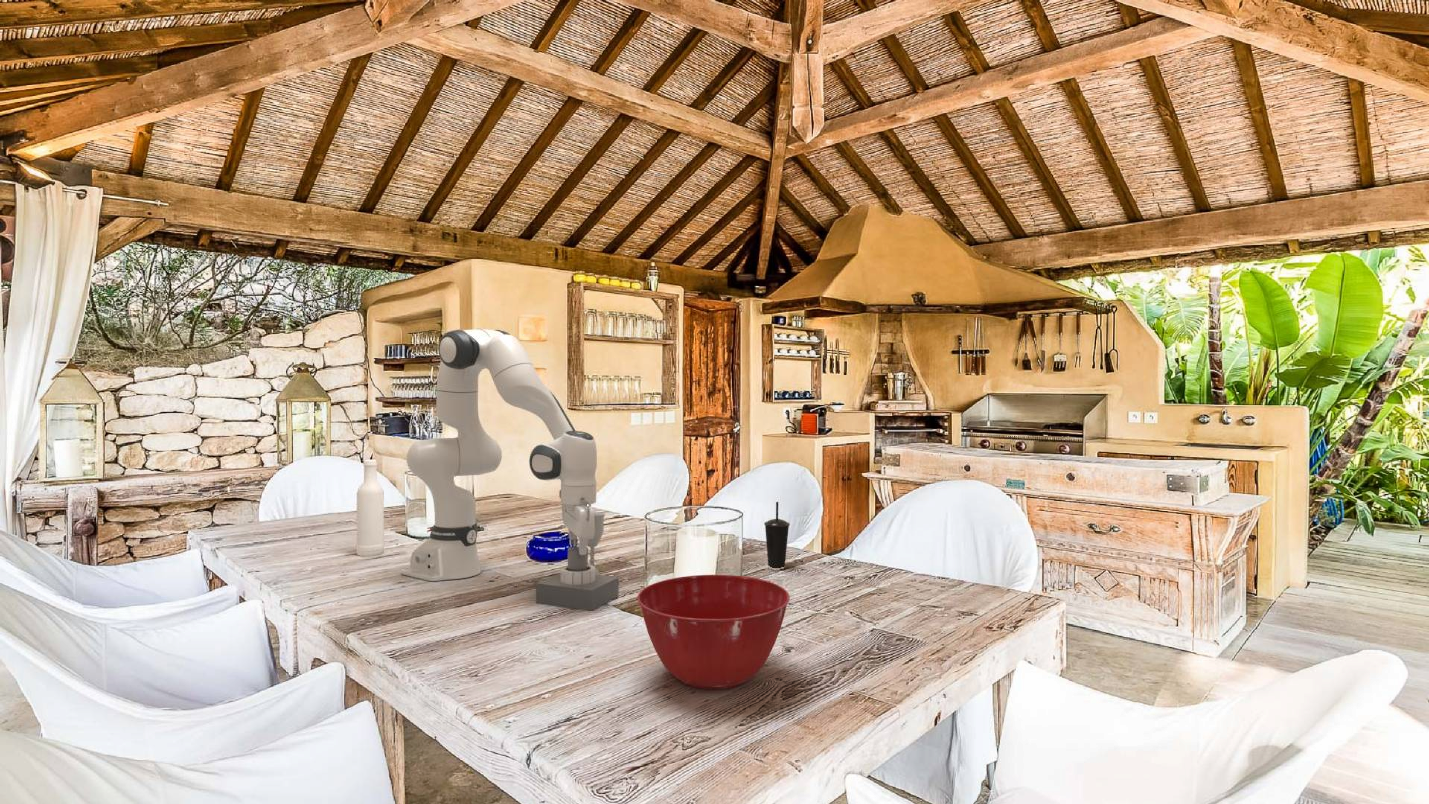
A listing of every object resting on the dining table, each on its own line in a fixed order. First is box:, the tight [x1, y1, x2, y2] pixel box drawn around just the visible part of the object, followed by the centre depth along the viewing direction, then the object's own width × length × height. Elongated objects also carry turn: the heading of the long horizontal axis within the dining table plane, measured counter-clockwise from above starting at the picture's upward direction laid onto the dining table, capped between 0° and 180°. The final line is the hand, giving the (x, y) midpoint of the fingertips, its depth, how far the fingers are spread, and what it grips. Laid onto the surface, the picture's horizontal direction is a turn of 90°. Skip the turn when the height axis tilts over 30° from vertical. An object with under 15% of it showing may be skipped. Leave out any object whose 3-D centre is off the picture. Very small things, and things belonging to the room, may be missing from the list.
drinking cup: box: [764, 501, 791, 568], centre depth 216 cm, size 8×8×20 cm
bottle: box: [356, 459, 385, 557], centre depth 230 cm, size 8×8×30 cm
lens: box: [567, 546, 589, 572], centre depth 182 cm, size 5×5×8 cm
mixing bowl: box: [637, 574, 791, 690], centre depth 135 cm, size 28×28×15 cm
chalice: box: [587, 511, 606, 575], centre depth 203 cm, size 7×7×18 cm
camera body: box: [535, 564, 620, 612], centre depth 182 cm, size 16×13×8 cm
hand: (577, 550), depth 182 cm, fingers open, 8 cm apart
